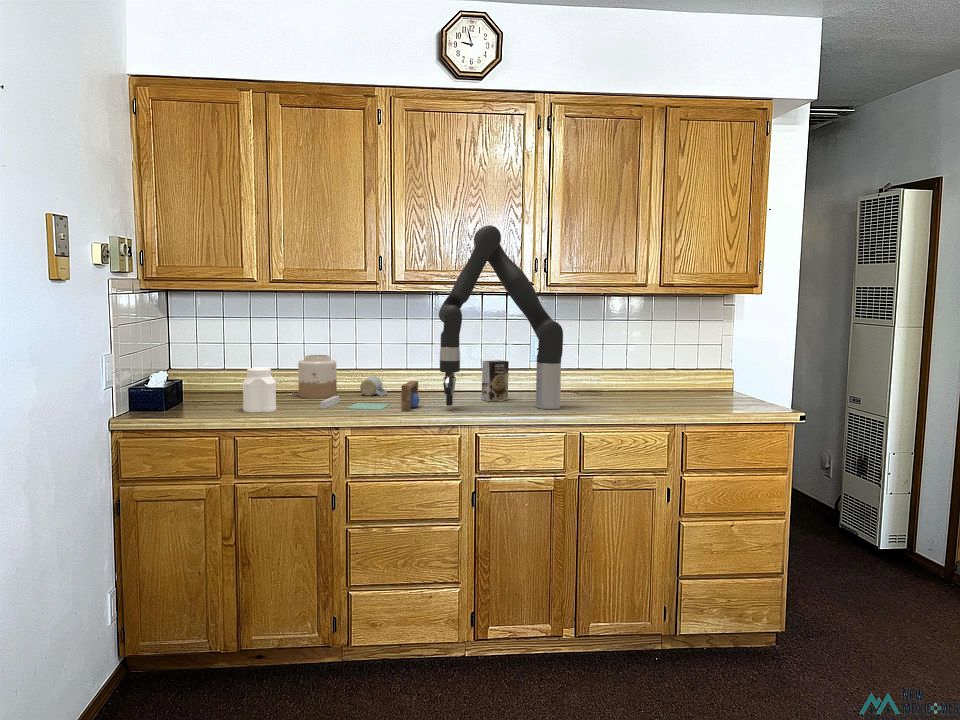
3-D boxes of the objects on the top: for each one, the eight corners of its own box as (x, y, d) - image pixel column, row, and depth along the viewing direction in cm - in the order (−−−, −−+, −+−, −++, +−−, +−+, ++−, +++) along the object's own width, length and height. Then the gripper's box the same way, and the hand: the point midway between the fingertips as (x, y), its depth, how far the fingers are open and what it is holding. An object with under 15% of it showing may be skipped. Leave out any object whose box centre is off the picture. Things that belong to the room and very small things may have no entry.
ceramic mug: (358, 396, 307) (359, 377, 307) (365, 393, 315) (365, 375, 315) (383, 397, 306) (384, 379, 305) (389, 394, 314) (389, 376, 313)
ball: (417, 408, 282) (423, 395, 281) (414, 411, 277) (419, 398, 276) (404, 402, 283) (409, 389, 282) (400, 405, 278) (406, 391, 276)
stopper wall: (339, 402, 290) (339, 395, 290) (325, 408, 275) (325, 401, 274) (334, 402, 291) (334, 395, 290) (320, 408, 275) (320, 401, 275)
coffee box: (490, 402, 295) (490, 361, 294) (481, 400, 300) (481, 360, 299) (508, 400, 300) (509, 360, 299) (499, 398, 305) (500, 359, 304)
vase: (304, 393, 314) (304, 353, 313) (340, 394, 313) (340, 354, 312) (293, 398, 299) (293, 357, 297) (331, 399, 298) (330, 357, 296)
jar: (241, 412, 264) (241, 370, 262) (244, 408, 273) (243, 367, 272) (275, 412, 266) (274, 370, 265) (277, 407, 275) (276, 367, 274)
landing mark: (389, 404, 286) (389, 404, 286) (380, 409, 273) (380, 409, 273) (357, 403, 288) (357, 402, 288) (346, 408, 275) (346, 408, 275)
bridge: (418, 405, 285) (418, 381, 285) (409, 411, 271) (409, 386, 270) (410, 404, 286) (410, 380, 285) (401, 411, 271) (401, 385, 271)
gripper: (456, 361, 268) (456, 408, 269) (462, 357, 281) (462, 403, 282) (436, 360, 269) (436, 407, 270) (443, 357, 282) (442, 402, 283)
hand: (449, 405), depth 276 cm, fingers closed
